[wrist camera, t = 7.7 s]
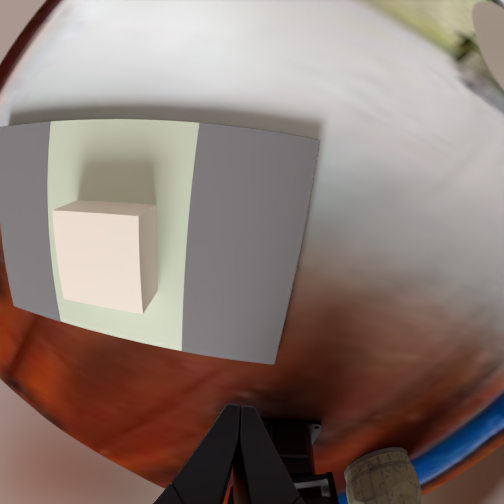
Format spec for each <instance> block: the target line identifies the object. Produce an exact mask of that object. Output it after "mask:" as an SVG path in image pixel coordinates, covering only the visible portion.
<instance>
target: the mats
mask: <svg viewBox="0 0 504 504" xmlns="http://www.w3.org/2000/svg"><path fill="white" fill-rule="evenodd" d="M50 123H51V122H38V123H28V124H19V125H10V126H3V127H0V224H1V234H2V242H3V250H4V257H5V263H6V269H7V275H8V280H9V285H10V290H11V295H12V299H13V304H14V306H16V307H18V308H21V309H24V310H27V311H30V312H33V313H35V314H38V315H41V316H45V317H48V318H51V319H54V320H57V321H60V322H61V320H60V315H59V310H58V304H57V298H56V292H55V285H54V278H53V271H52V262H51V252H50V241H49V227H48V202H47V173H48V149H49V134H50ZM319 145H320V140H318V139H313V138H308V137H302V136H297V135H291V134H285V133H279V132H273V131H266V130H259V129H252V128H244V127H236V126H228V125H218V124H208V123H199V129H198V137H197V145H196V153H195V161H194V170H193V179H192V188H191V198H190V209H189V220H188V232H187V245H186V260H185V276H184V295H183V320H182V351H183V352H189V353H194V354H200V355H206V356H212V357H219V358H225V359H232V360H239V361H247V362H255V363H263V364H272V365H274V363H275V359H276V355H277V351H278V347H279V342H280V338H281V334H282V330H283V326H284V321H285V317H286V313H287V308H288V304H289V299H290V295H291V291H292V286H293V281H294V277H295V272H296V267H297V263H298V258H299V253H300V248H301V243H302V238H303V233H304V228H305V223H306V218H307V213H308V207H309V202H310V197H311V191H312V186H313V180H314V174H315V169H316V163H317V157H318V151H319Z"/></svg>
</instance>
